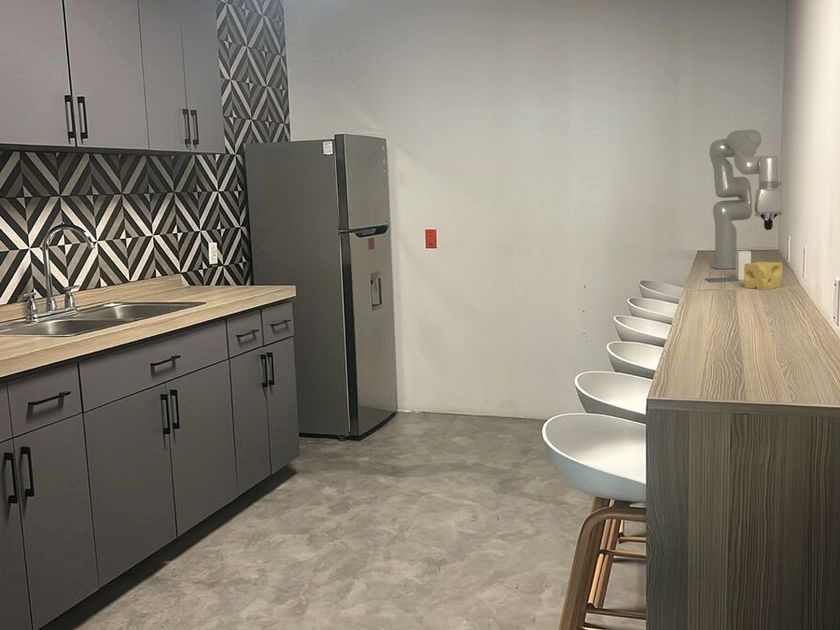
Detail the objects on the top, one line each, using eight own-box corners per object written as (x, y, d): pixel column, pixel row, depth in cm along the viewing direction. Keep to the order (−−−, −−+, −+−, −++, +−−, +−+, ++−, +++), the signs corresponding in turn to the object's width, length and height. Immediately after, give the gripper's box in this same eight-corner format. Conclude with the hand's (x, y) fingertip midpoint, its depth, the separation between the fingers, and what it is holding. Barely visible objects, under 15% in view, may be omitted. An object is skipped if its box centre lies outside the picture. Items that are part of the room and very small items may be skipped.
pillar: (735, 278, 366) (735, 251, 364) (747, 278, 365) (747, 250, 363) (738, 280, 361) (738, 252, 359) (750, 279, 360) (750, 251, 358)
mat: (704, 279, 370) (704, 278, 369) (733, 278, 368) (733, 277, 368) (710, 282, 360) (710, 281, 360) (739, 281, 358) (739, 280, 358)
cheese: (764, 290, 331) (764, 264, 330) (742, 287, 341) (742, 263, 339) (782, 287, 336) (783, 262, 334) (760, 284, 345) (761, 260, 344)
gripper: (784, 184, 358) (783, 228, 361) (747, 186, 360) (747, 230, 363) (789, 184, 351) (789, 229, 354) (752, 186, 352) (752, 231, 355)
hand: (768, 229), depth 358 cm, fingers closed
